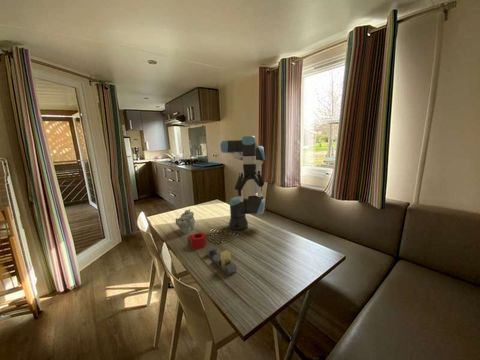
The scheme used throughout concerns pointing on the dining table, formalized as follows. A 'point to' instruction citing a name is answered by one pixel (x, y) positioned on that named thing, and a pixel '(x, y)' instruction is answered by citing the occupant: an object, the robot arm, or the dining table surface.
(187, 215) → the grey lumpy piece
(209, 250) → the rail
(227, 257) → the nut block
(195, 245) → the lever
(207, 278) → the dining table surface
